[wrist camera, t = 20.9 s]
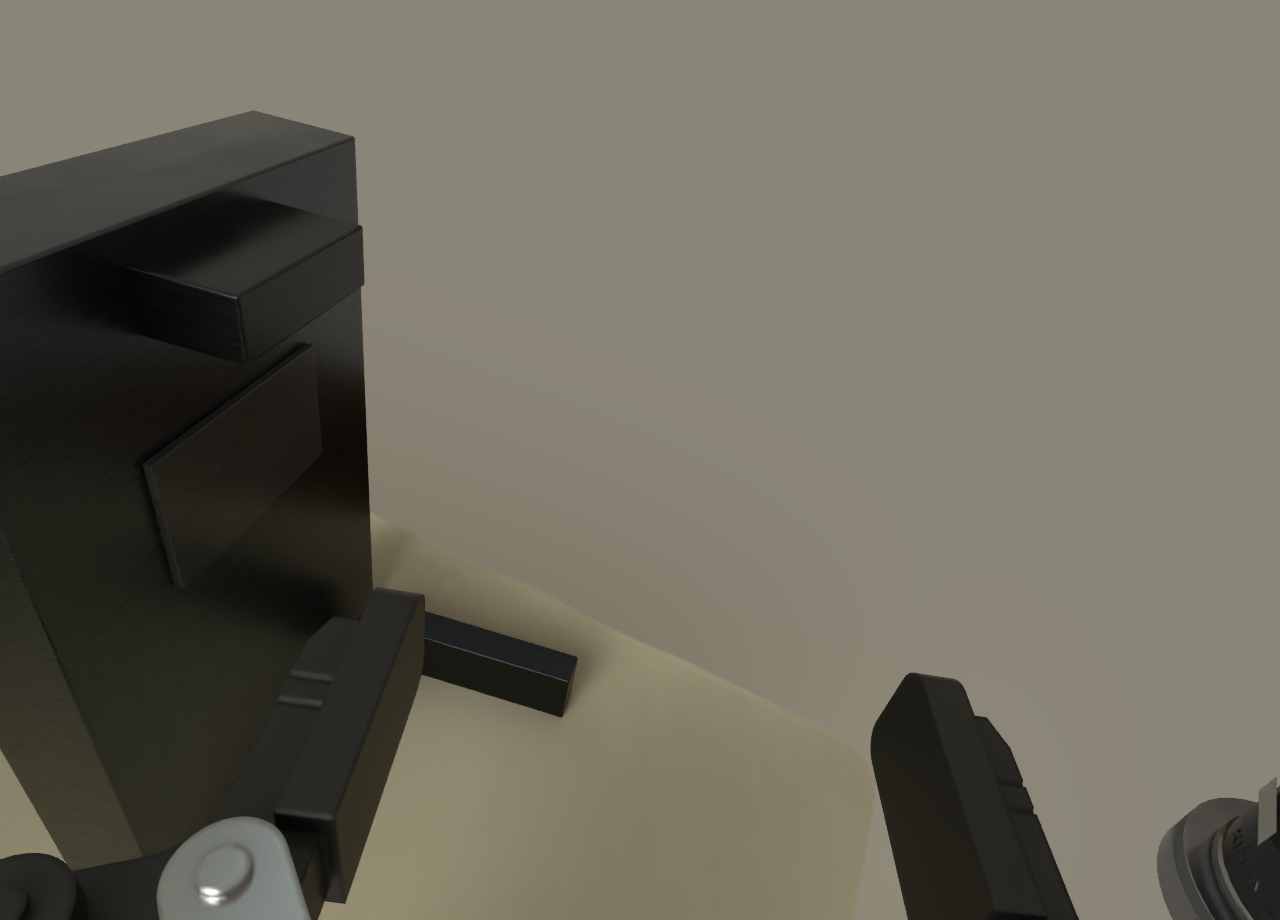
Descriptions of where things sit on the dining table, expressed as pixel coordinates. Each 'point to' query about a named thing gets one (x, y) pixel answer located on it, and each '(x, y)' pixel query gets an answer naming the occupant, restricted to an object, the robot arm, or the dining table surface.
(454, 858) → the dining table surface
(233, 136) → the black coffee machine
